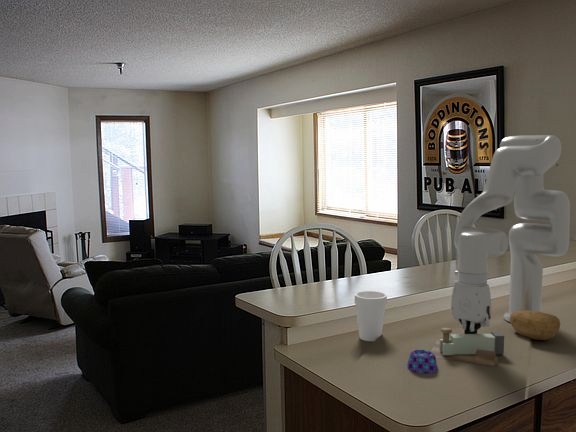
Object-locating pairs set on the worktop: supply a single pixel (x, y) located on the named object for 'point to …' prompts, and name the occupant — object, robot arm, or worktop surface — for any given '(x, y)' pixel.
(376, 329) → the foam cup
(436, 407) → the worktop surface
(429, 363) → the purple spotted dome
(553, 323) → the potato
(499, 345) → the leg
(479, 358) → the stool seat
